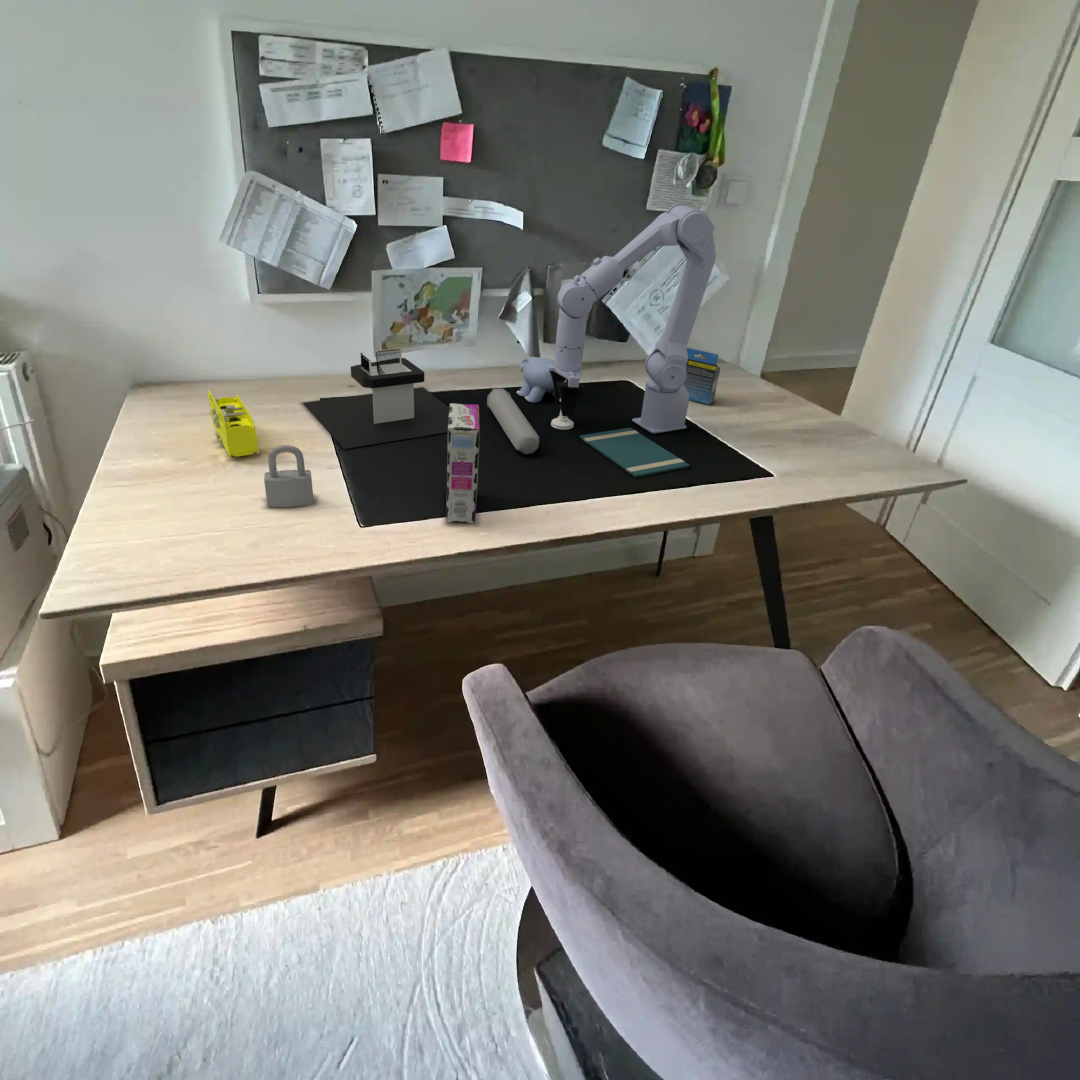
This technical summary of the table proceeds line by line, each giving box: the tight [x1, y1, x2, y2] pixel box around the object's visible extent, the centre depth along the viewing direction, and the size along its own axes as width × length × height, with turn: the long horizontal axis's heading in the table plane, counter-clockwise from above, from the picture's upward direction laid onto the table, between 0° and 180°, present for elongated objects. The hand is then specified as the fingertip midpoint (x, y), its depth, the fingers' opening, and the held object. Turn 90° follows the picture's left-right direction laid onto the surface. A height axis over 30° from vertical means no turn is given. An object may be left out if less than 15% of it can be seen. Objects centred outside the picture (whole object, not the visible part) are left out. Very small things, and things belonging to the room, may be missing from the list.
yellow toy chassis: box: [207, 390, 259, 458], centre depth 134 cm, size 16×6×8 cm, turn 31°
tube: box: [486, 388, 540, 455], centre depth 149 cm, size 5×5×25 cm
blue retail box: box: [683, 346, 721, 406], centre depth 173 cm, size 9×4×12 cm, turn 58°
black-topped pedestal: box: [302, 347, 450, 450], centre depth 150 cm, size 28×26×13 cm
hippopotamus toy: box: [516, 356, 554, 403], centre depth 169 cm, size 11×15×10 cm
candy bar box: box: [445, 403, 481, 525], centre depth 117 cm, size 11×5×16 cm, turn 5°
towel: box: [579, 427, 690, 478], centre depth 146 cm, size 13×20×1 cm, turn 29°
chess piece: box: [550, 380, 575, 431], centre depth 153 cm, size 5×5×10 cm
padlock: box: [263, 444, 315, 508], centre depth 116 cm, size 7×4×10 cm, turn 107°
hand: (563, 408), depth 154 cm, fingers open, 7 cm apart
